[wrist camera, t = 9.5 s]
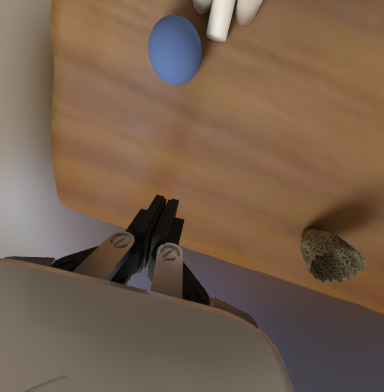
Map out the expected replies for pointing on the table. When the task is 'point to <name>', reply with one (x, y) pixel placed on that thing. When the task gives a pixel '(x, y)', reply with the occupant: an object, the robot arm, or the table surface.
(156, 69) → the ball
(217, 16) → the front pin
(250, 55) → the table surface
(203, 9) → the pin
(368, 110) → the table surface
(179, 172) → the table surface
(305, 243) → the cup
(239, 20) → the pin
